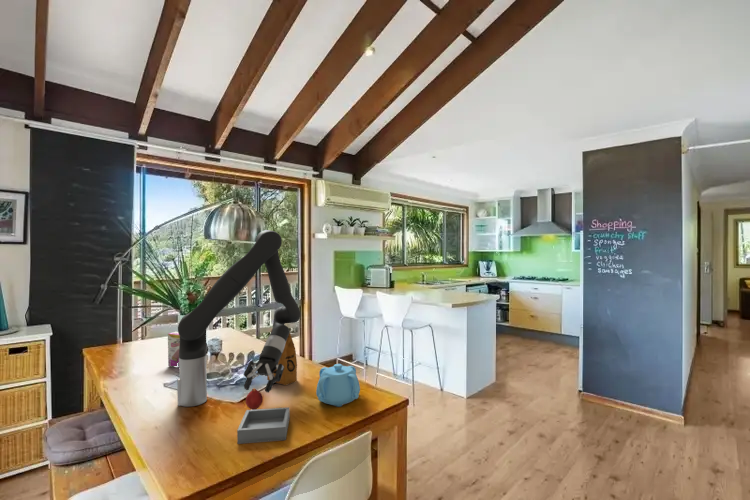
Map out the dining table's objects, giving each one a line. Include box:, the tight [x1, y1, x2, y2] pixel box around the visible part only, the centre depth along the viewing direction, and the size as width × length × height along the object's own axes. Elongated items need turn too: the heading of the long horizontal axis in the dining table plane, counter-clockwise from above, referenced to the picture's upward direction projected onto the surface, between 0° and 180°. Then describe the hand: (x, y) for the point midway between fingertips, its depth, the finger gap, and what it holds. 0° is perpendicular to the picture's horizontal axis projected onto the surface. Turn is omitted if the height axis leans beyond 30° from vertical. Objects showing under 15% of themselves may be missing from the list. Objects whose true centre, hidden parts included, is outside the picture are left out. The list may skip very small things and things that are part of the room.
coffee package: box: [266, 329, 298, 386], centre depth 164 cm, size 10×12×22 cm
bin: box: [236, 406, 291, 445], centre depth 121 cm, size 14×14×4 cm
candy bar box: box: [167, 331, 180, 366], centre depth 185 cm, size 11×5×16 cm, turn 71°
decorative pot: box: [315, 363, 361, 408], centre depth 144 cm, size 16×16×14 cm
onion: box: [245, 387, 264, 410], centre depth 136 cm, size 6×6×8 cm
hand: (256, 390), depth 137 cm, fingers open, 8 cm apart
